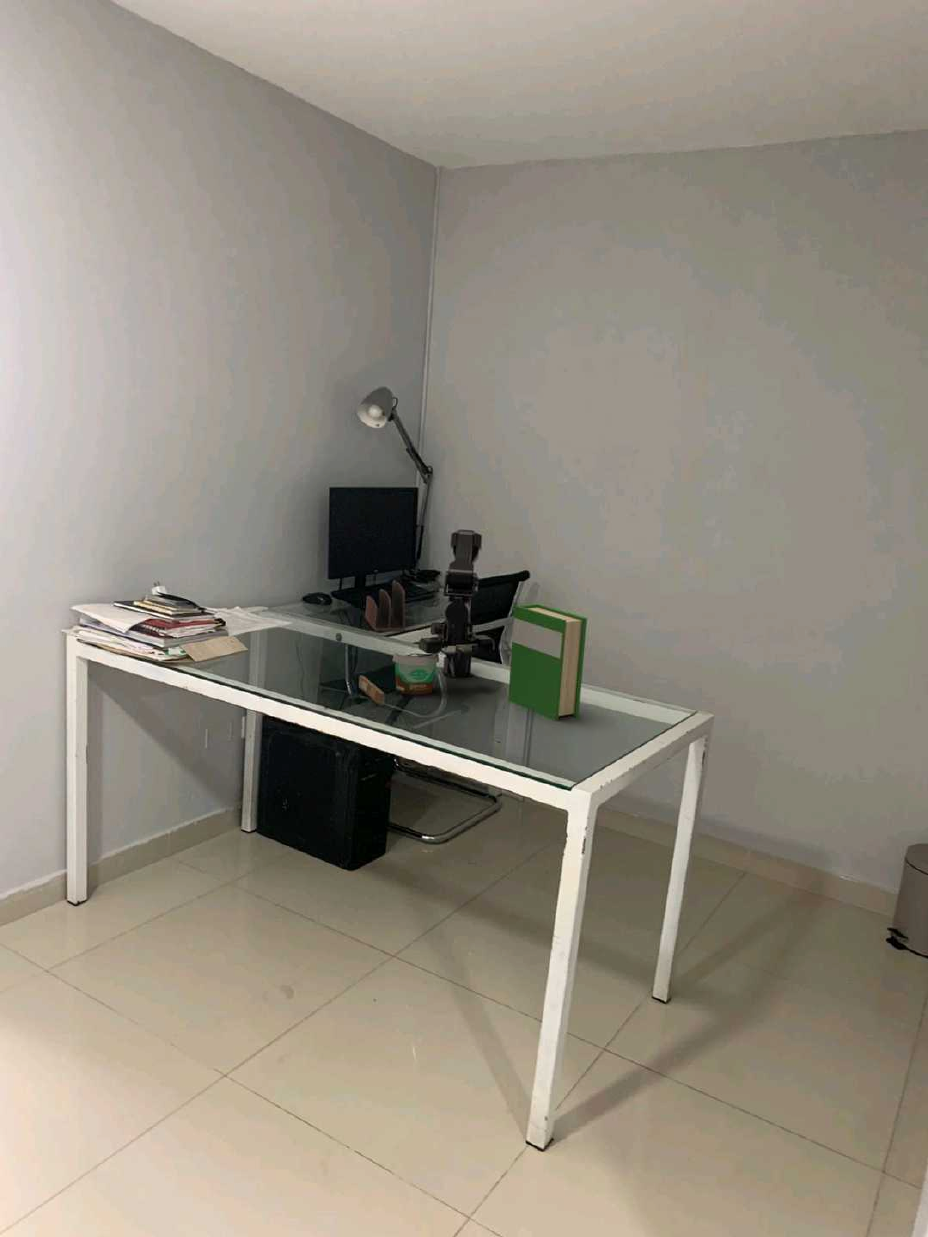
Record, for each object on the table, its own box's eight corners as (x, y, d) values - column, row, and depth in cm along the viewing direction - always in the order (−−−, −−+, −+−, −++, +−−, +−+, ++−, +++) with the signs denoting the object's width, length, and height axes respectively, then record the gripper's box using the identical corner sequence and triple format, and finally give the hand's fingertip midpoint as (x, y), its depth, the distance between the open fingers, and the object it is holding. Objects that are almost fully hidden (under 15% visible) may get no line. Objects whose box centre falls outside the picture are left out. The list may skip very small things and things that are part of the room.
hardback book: (578, 716, 222) (587, 618, 217) (555, 720, 218) (563, 620, 213) (531, 696, 236) (538, 603, 231) (508, 700, 231) (514, 605, 226)
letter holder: (393, 618, 318) (395, 578, 315) (404, 631, 300) (406, 588, 297) (364, 618, 316) (366, 577, 313) (374, 631, 297) (375, 588, 294)
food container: (400, 698, 228) (402, 658, 225) (391, 691, 233) (392, 652, 231) (445, 694, 233) (448, 655, 231) (435, 687, 239) (437, 649, 236)
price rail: (362, 687, 235) (363, 675, 235) (384, 705, 221) (384, 693, 220) (358, 687, 235) (358, 675, 234) (379, 706, 220) (379, 693, 220)
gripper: (478, 609, 244) (474, 666, 247) (412, 611, 236) (409, 670, 240) (497, 618, 234) (493, 678, 238) (428, 620, 226) (425, 682, 230)
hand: (454, 676), depth 236 cm, fingers closed
